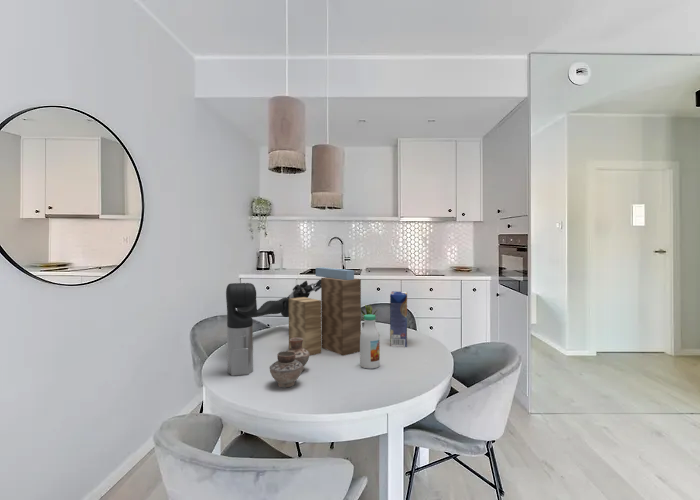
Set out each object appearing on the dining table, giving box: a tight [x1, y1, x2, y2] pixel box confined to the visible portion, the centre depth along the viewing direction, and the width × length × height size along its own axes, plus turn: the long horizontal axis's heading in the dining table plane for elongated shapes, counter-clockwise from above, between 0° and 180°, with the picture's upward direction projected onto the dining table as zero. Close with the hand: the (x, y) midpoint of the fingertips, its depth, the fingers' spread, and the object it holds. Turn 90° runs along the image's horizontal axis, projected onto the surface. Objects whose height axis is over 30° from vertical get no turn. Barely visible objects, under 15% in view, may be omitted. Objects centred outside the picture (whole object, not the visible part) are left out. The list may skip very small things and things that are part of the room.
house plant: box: [361, 304, 380, 329], centre depth 202 cm, size 14×14×16 cm
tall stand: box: [320, 277, 362, 356], centre depth 175 cm, size 16×10×32 cm, turn 39°
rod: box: [315, 266, 355, 280], centre depth 178 cm, size 24×4×4 cm, turn 39°
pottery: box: [269, 338, 310, 388], centre depth 140 cm, size 11×25×12 cm, turn 175°
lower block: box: [288, 297, 322, 357], centre depth 173 cm, size 14×8×23 cm, turn 39°
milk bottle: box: [359, 313, 381, 370], centre depth 152 cm, size 8×8×20 cm
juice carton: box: [389, 291, 408, 348], centre depth 185 cm, size 12×8×24 cm, turn 170°
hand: (314, 281), depth 191 cm, fingers open, 8 cm apart
